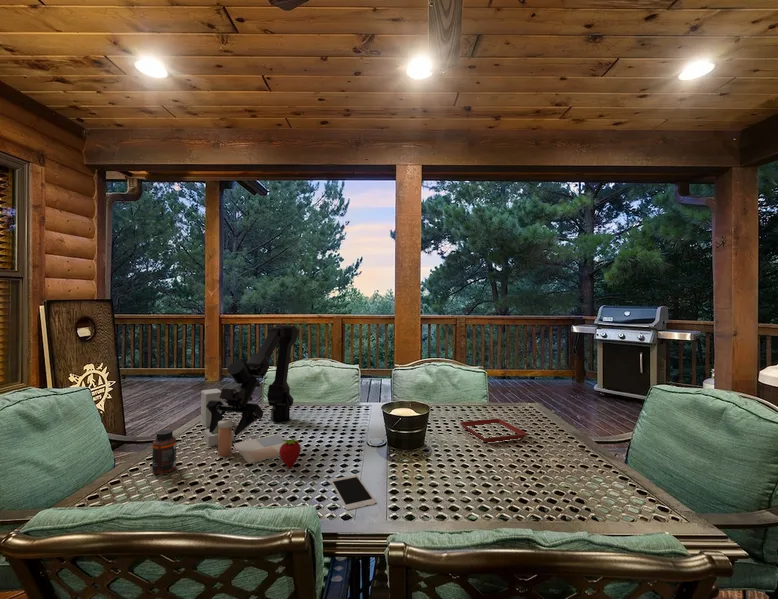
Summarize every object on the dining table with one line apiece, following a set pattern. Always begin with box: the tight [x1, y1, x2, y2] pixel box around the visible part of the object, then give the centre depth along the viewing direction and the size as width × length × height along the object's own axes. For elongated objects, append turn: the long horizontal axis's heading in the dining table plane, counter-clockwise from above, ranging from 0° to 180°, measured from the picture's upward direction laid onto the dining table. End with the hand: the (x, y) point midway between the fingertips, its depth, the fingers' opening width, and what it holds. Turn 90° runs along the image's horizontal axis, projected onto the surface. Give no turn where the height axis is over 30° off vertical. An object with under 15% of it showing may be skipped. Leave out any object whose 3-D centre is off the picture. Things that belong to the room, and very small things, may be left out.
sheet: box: [232, 433, 286, 465], centre depth 124 cm, size 16×18×1 cm
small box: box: [200, 388, 224, 428], centre depth 148 cm, size 8×6×13 cm
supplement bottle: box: [151, 429, 177, 475], centre depth 107 cm, size 6×6×11 cm
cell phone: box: [330, 474, 377, 511], centre depth 97 cm, size 8×16×1 cm, turn 23°
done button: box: [212, 426, 218, 434], centre depth 130 cm, size 4×4×4 cm
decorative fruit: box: [279, 434, 302, 469], centre depth 110 cm, size 6×8×10 cm
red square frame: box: [459, 418, 528, 443], centre depth 139 cm, size 18×18×3 cm
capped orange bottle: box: [217, 419, 233, 458], centre depth 119 cm, size 4×4×10 cm
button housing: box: [203, 428, 235, 448], centre depth 130 cm, size 8×8×4 cm
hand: (222, 433), depth 118 cm, fingers open, 9 cm apart
